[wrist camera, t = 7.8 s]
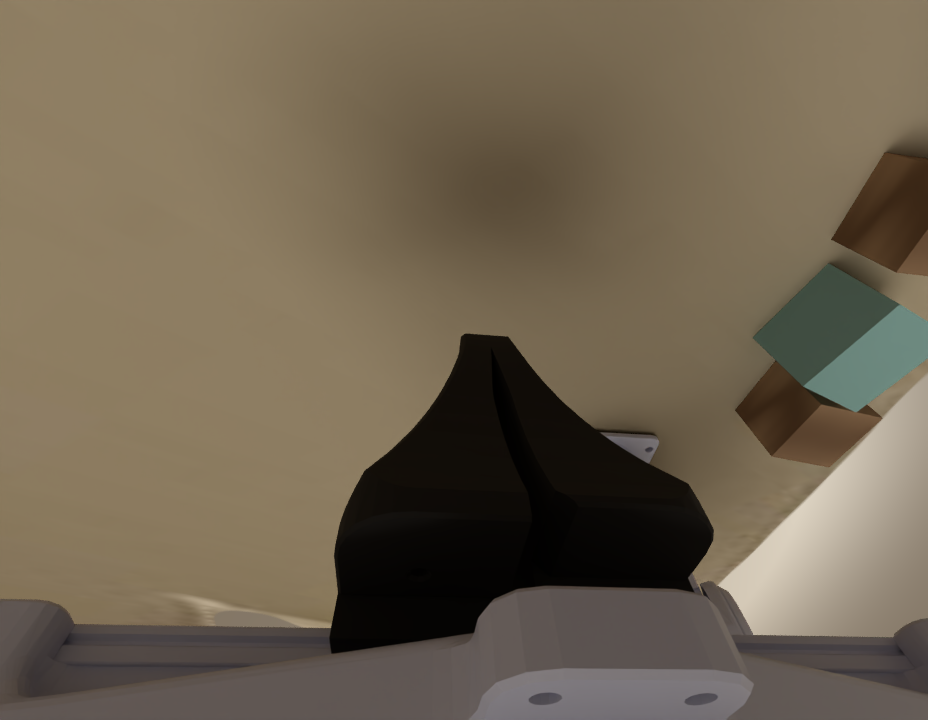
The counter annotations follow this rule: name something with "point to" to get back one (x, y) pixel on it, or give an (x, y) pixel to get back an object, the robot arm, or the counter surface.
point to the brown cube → (891, 216)
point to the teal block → (845, 339)
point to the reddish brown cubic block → (802, 420)
